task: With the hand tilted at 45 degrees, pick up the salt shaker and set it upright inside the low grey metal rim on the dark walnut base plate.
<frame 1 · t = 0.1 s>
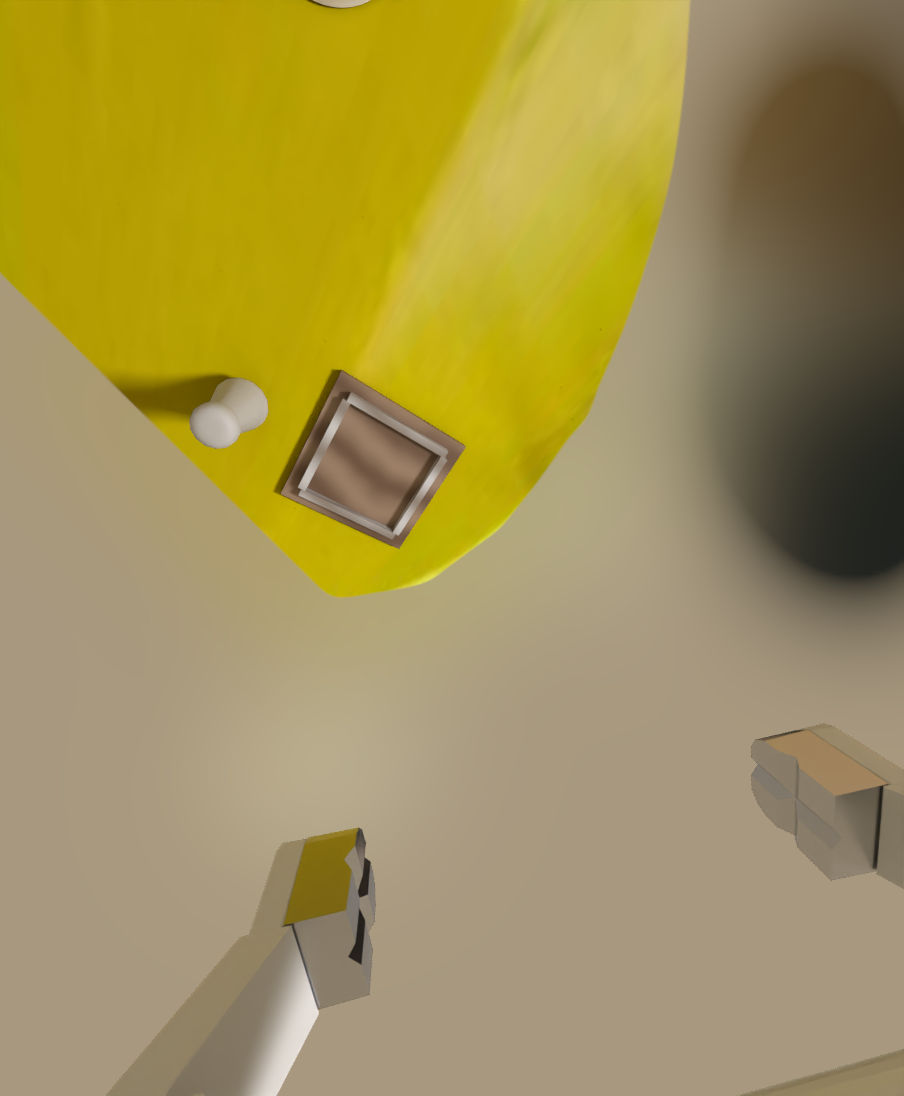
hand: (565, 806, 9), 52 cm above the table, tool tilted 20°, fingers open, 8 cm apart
socket plate: (373, 467, 58), on the table
salt shaker: (246, 399, 51), on the table
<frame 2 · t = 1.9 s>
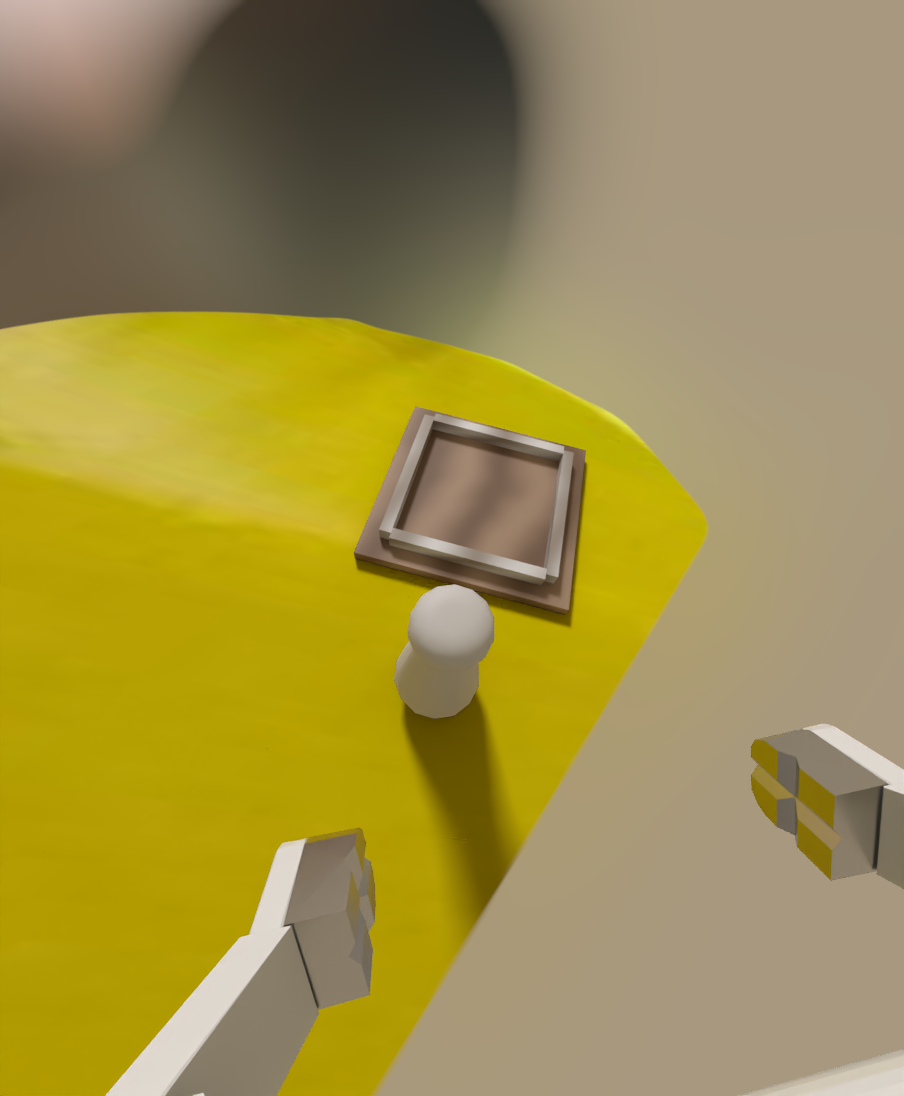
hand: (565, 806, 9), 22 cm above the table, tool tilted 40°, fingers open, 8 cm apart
socket plate: (480, 502, 40), on the table
salt shaker: (434, 682, 32), on the table
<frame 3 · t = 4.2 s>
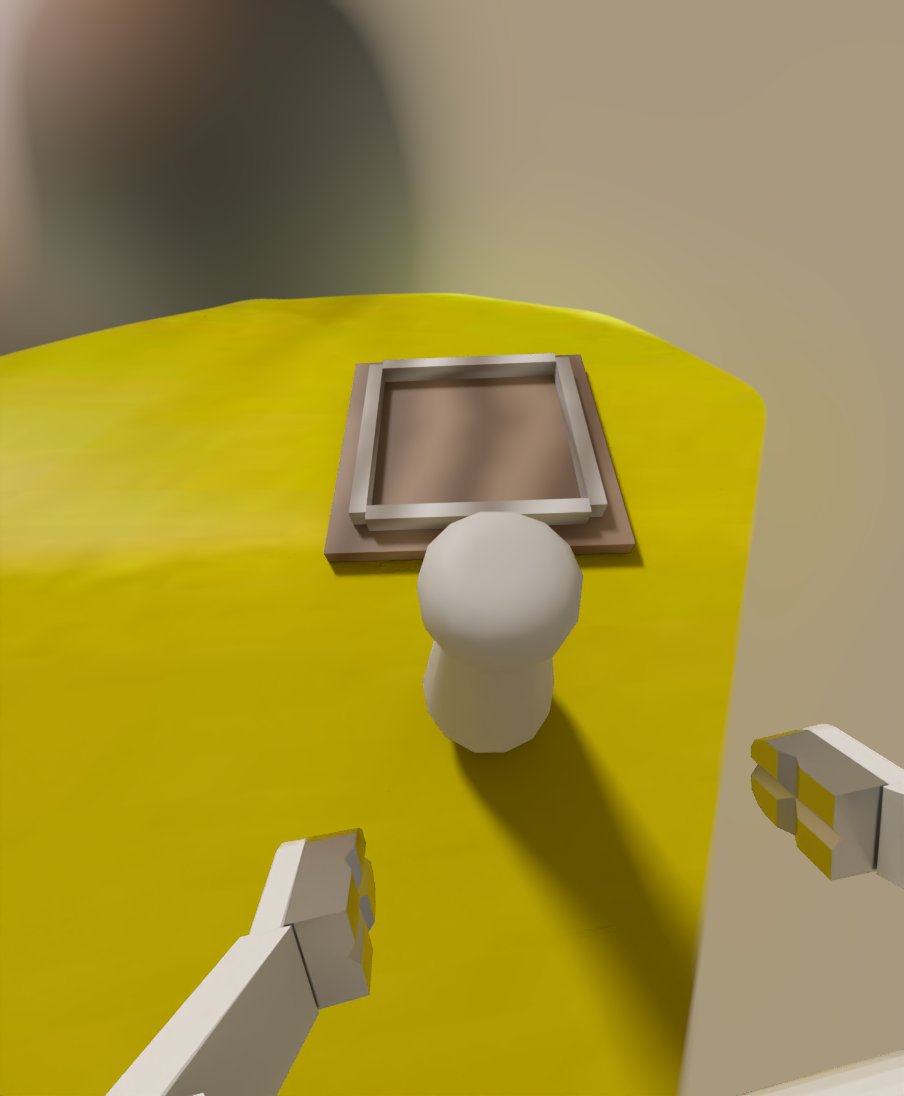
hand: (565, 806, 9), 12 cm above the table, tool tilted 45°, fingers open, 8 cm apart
socket plate: (472, 449, 30), on the table
salt shaker: (485, 696, 21), on the table
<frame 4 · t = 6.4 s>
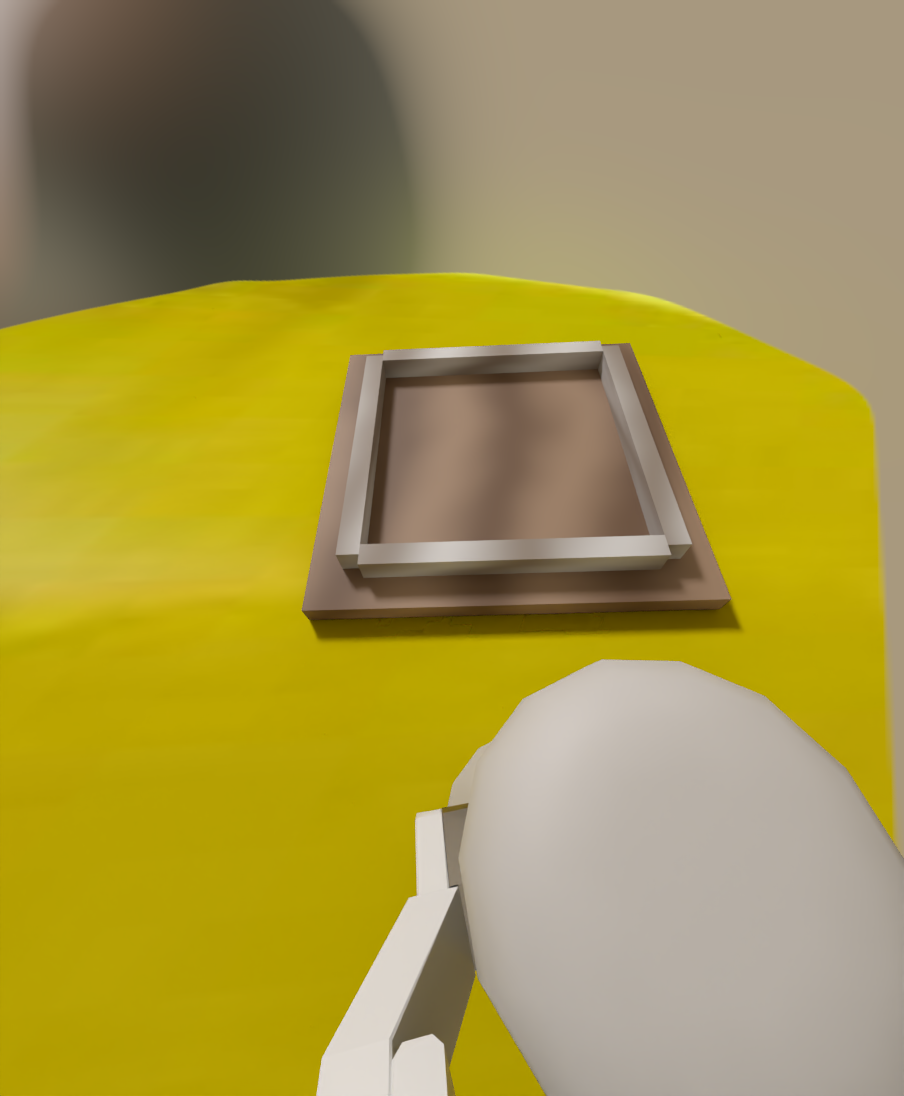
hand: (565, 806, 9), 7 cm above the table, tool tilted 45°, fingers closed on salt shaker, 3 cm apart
socket plate: (497, 463, 24), on the table
salt shaker: (531, 832, 15), on the table, touching gripper
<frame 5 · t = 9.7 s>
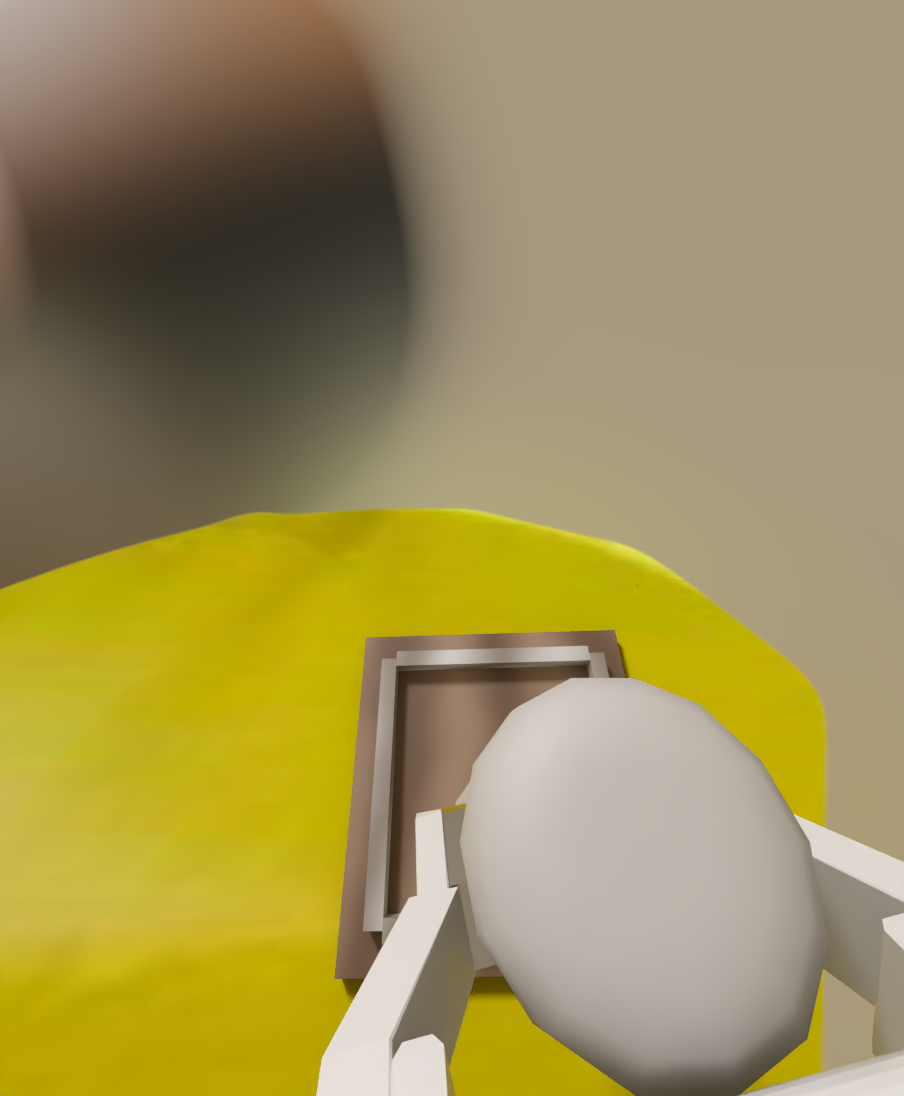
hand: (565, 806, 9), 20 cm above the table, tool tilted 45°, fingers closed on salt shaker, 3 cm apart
socket plate: (498, 775, 27), on the table
salt shaker: (531, 849, 15), point 12 cm above the table, touching gripper
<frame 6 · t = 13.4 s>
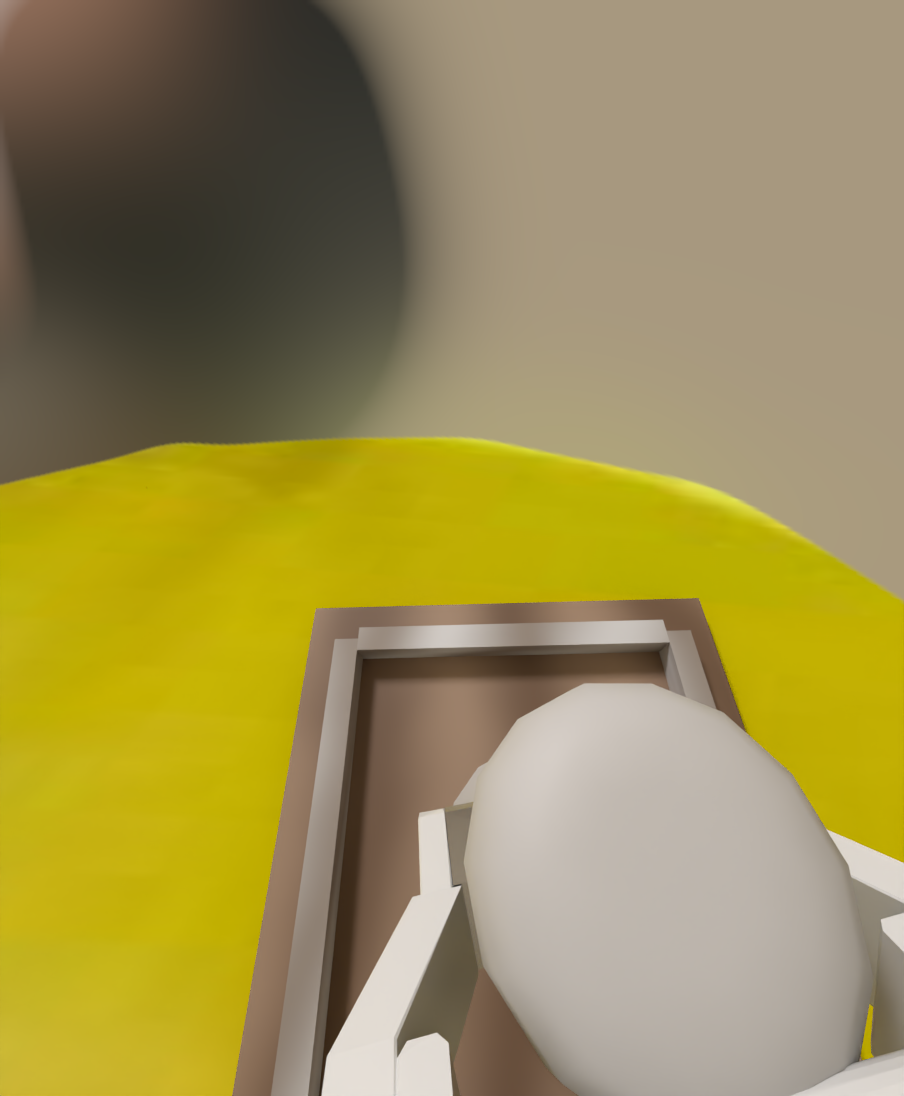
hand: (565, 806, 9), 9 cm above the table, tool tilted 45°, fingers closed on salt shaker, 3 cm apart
socket plate: (522, 832, 16), on the table
salt shaker: (530, 849, 15), point 1 cm above the table, touching gripper, socket plate
when the fingers open (9 cm above the table, at t = 13.6 s): salt shaker stays where it is, resting on socket plate.
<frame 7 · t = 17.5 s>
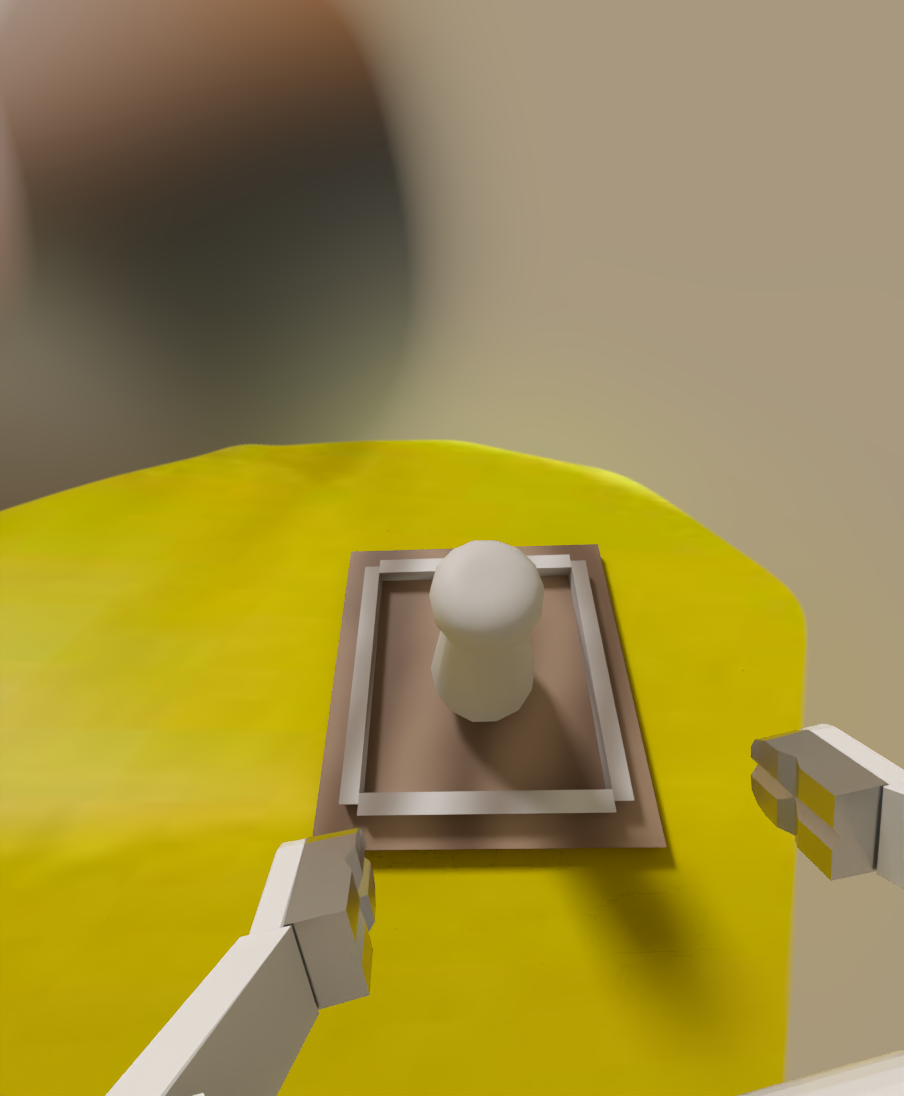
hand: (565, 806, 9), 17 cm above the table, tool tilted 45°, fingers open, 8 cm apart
socket plate: (478, 675, 27), on the table
salt shaker: (481, 680, 26), point 1 cm above the table, touching socket plate
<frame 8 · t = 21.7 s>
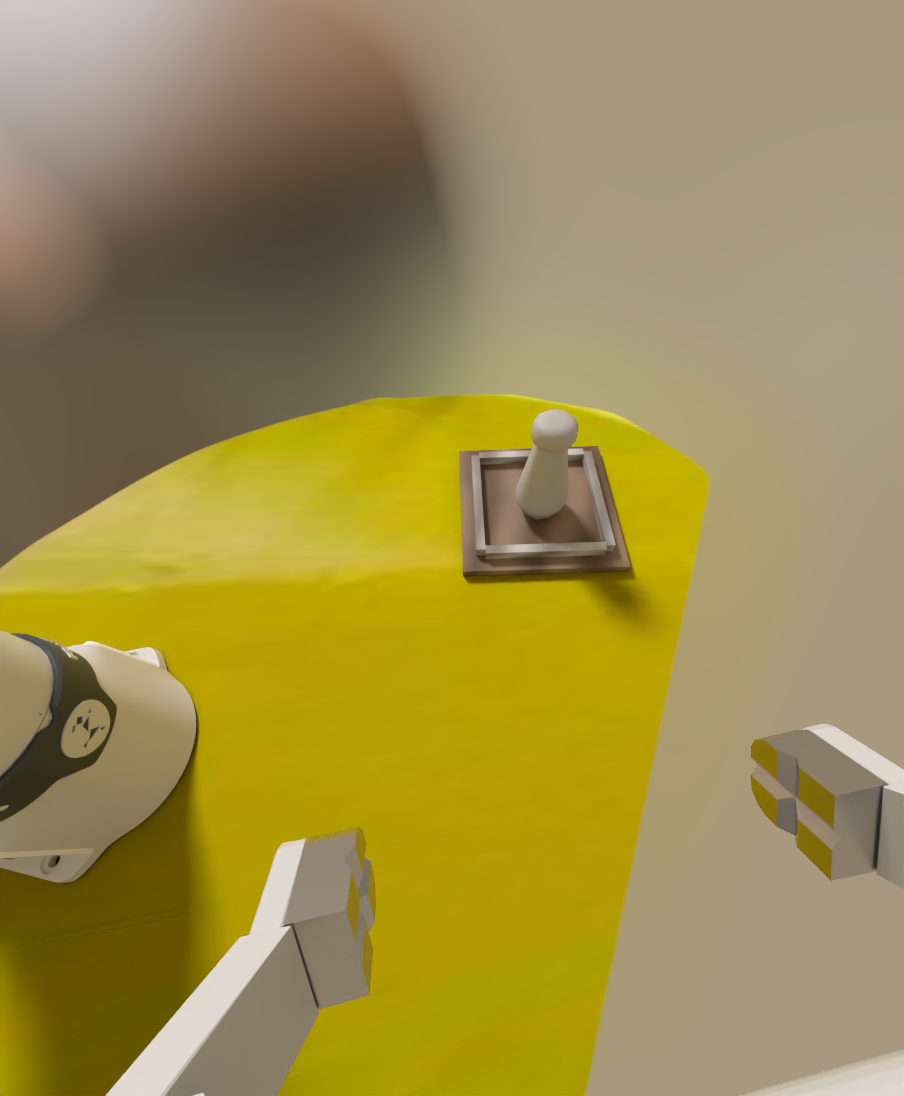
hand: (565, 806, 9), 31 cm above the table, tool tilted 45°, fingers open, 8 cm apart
socket plate: (535, 508, 52), on the table
salt shaker: (538, 507, 51), point 1 cm above the table, touching socket plate
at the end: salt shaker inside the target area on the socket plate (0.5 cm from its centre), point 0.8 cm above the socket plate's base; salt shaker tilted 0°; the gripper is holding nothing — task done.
